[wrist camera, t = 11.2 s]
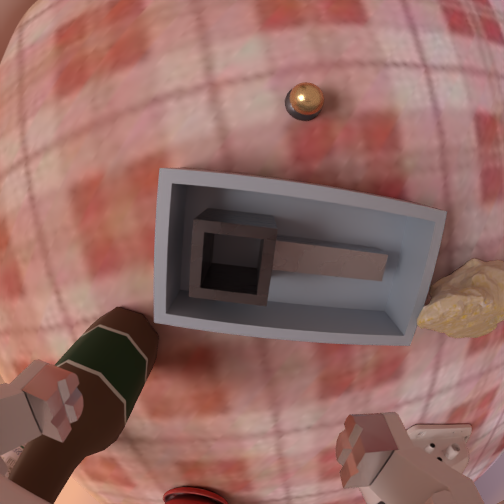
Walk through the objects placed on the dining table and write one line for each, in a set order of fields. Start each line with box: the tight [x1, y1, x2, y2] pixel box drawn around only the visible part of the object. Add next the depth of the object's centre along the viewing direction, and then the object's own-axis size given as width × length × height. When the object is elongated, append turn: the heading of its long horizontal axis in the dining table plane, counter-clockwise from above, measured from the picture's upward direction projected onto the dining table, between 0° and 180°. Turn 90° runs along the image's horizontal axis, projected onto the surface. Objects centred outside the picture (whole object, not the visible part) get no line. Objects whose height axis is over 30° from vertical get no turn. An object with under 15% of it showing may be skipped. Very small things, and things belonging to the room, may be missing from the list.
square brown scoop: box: [189, 208, 388, 306], centre depth 24 cm, size 16×6×6 cm, turn 83°
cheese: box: [417, 258, 504, 338], centre depth 25 cm, size 15×7×15 cm
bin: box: [154, 168, 447, 346], centre depth 25 cm, size 22×12×6 cm, turn 83°
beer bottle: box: [8, 307, 159, 504], centre depth 19 cm, size 8×8×24 cm
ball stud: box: [285, 82, 324, 121], centre depth 23 cm, size 3×3×3 cm
